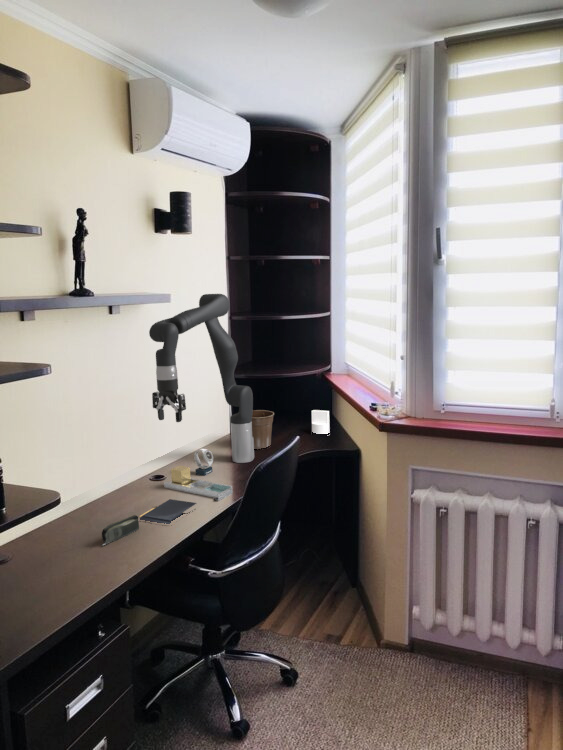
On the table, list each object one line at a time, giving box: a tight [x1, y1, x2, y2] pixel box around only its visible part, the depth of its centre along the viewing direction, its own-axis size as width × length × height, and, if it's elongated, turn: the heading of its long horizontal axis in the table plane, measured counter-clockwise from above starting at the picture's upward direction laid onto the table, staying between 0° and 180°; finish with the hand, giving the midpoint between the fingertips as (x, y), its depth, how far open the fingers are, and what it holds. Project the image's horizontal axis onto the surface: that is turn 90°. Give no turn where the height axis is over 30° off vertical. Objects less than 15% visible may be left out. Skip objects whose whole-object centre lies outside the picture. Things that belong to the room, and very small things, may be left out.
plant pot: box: [252, 409, 275, 450], centre depth 274 cm, size 16×16×16 cm
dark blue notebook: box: [138, 498, 197, 524], centre depth 198 cm, size 20×2×15 cm
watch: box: [193, 448, 214, 477], centre depth 234 cm, size 6×8×11 cm
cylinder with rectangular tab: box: [311, 409, 331, 434], centre depth 293 cm, size 9×9×12 cm
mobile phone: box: [101, 514, 140, 547], centre depth 179 cm, size 5×3×15 cm
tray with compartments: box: [163, 477, 233, 502], centre depth 216 cm, size 8×26×3 cm, turn 58°
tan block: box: [170, 465, 192, 485], centre depth 220 cm, size 5×5×7 cm
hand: (170, 420), depth 213 cm, fingers open, 8 cm apart
